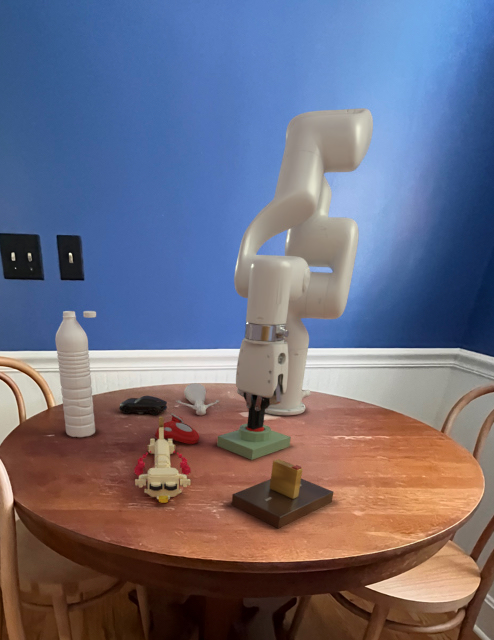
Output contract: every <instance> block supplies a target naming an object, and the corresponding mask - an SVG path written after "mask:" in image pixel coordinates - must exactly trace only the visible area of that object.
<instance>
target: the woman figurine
mask: <svg viewBox="0 0 494 640" xmlns="http://www.w3.org/2000/svg"><path fill="white" fill-rule="evenodd" d="M183 395H184V397H185V399H186V400H187V401H188V402H190V403H186V402H182V401H181V400H180V399H178V400H175V402H176V403H177V404H179V405H183V406H186V407H189V408H191V409H193V410H194V411H195V414H196V415H197V416H200V417H201V416H205V415H206V414H207V411H206V410H207V409H208V408H210V407H212V406H213V405H216V404H219V403H220V399H215V401H214V402H210V403H208V404H205V401H206V396H207V390H206V387H205V386H204V385H203V384H201V383H197V382H196V383H195V382H194V383H189V384H188V385H186V387H185V388H184V390H183Z"/></svg>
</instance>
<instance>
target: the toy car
mask: <svg viewBox="0 0 494 640" xmlns="http://www.w3.org/2000/svg"><path fill="white" fill-rule="evenodd" d="M167 404H168V401H167V400H165V399H162V398H159V397H157V396H153V395H152V396H151V395H143V396H141V397H129V398H127V399H125V400H123V401H122V402H120V404H119V408H118V409H119V411H121V412H122V413H124V414H130V413H136V414H139V415H143V414H145V413H148V414H151V415H152V416H156V415H158V414H159V413H163V412H165V411H166V410H167V409H168V406H167Z"/></svg>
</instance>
